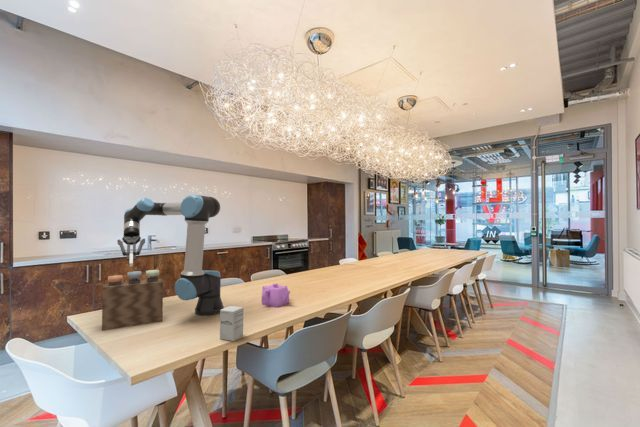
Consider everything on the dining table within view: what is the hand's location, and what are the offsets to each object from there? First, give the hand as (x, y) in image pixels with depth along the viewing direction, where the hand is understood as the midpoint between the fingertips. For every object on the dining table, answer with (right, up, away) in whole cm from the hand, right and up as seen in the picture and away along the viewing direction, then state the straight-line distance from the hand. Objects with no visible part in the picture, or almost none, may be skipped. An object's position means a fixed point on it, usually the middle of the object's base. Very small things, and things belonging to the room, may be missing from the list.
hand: (131, 264), depth 150 cm
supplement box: (+57, -28, -20) cm, 67 cm away
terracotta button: (-5, -9, -4) cm, 11 cm away
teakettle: (+69, -30, +33) cm, 82 cm away
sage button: (+9, -8, +4) cm, 12 cm away
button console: (+2, -29, -1) cm, 29 cm away
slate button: (+2, -7, 0) cm, 8 cm away
